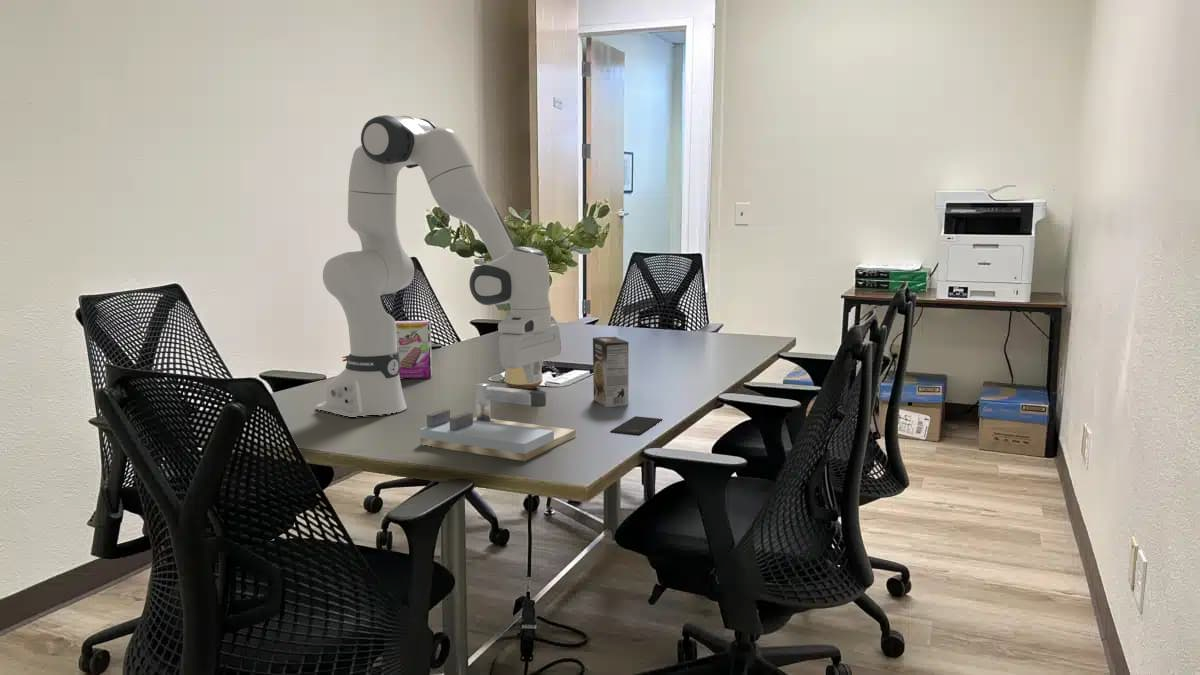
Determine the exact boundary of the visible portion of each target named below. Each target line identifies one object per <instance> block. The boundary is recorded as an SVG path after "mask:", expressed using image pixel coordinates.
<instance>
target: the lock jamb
mask: <svg viewBox="0 0 1200 675" xmlns="http://www.w3.org/2000/svg"><path fill="white" fill-rule="evenodd" d="M473 416H474V415H473V412H469V411H465V412H463V413H461V414H457V415H454V416H452V417H451V410H450V409H447V408H446V409H445V408H443V409H441V410H438V411H435V412H432V413H429V414H427V415H426V426H424V427H422V428H420V429H419V432H420V433H419V434H420V436H419V438H420V445H421V444H422V445H421V446H424V445H428V446H427V447H430V446H432V447H431V448H437V449H438V448H439V449H443V450H444V449H445V450H451V451H457V452H464V453H469V454H475V455H476V454H477V455H483V456H490V457H495V458H502V459H510V460H516V461H522V462H526V461H529V460H531V459H532V458H534V457H537V456H539V455H541V454H543V453H545V452H547V451H549V450H551V449H554V448H555V447H557V446H559V445H562V444H563V443H566V442H568V441H570V440H572V439H573V438H575V437H576V434H577V433H576V429H572V428H571V429H570V428H564V427H555V426H547V425H539V424H534V423H533V424H532V423H527V422H526V423H525V422H518V421H509V420H501V419H495V418H491V421H489V422H485V421H477V420H476V417H473Z"/></svg>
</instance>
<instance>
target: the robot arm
mask: <svg viewBox="0 0 1200 675" xmlns="http://www.w3.org/2000/svg"><path fill="white" fill-rule="evenodd" d="M360 142H361V143H360V144H361V145H359V146H358V147H357V148H356V149H355V150H354V152H353V156H352V159H351V164H350V169H349V176H348V187H347V188H348V189H347V190H348V191H347V192H348V195H347V198H348V199H347V222H348V225H349V227H350V228H351V229H352V230H353V231H354V232H356V234H357V235H358V238H359V241H360V243H361V250H359V251H347V252H344V253H341V254H338V255H335V256H334V257H331V258H329V259H328V261H326V263H325V265H324V266H323V269H322V280H323V284H324V287H325V289H326V290H327V291H328V293H329V294H330V295H331V296H333V297H334V298H335V299H336V300H337V301H338V302H339V304H340V306H341V308H342V309H343V313H344V315H345V318H346V321H347V325H348V326H347V327H348V334H349V336H348V337H349V348H350V353H349V354H348V355H345V356H342V357H341V358H342V360H341V361H342V362H346V364H345V369H344V370H342V371H341V372H340V373H339V374H338V375H337V376H336V377H334V378H333V379H332V380H331V381H330V382H329V383H328V384H327V386H326V390H325V400H324V401H322V402H320V403H317V404H316V406H315V409H316V408H319V409H323V410H327V411H330V412H335V413H339V414H343V415H347V416H361V415H379V416H383V415H382V414H387V415H392V414H391V413H393V414H396V412H397V413H400V412H403V411H404V410H406V409H407V407H408V406H407V404H406V400H405V397H404V396H405V395H404V392H403V388H402V382H401V379H400V375H399V367H400V356H399V352H398V351H397V334H396V322H395V321H396V320H395V318H394V316H392V315H391V314H389V313H388V312H387V311H386V309H385V308H384V305H383V302H382V298H381V295H388V294H394V293H396V292H399V291H401V290H403V289H405V288H407V287H408V286H410V285H411V283H412V282H413V280H414V278H415V277H414V275H415V266H414V263H413V260H412V258H411V257H410V256H409V255H408V254H407V252H406V251H405V250H404V248H403V245H402V244H401V241H400V237H399V234H398V226H397V195H398V193H397V191H398V190H397V189H398V188H397V187H398V176H399V173H400V171H401V170H402V169H403V168H404V167H406V168H408V169H414V168H416V167H420V168H421V170H422V172H423V175H424V177H425V180H426V182H427V185H428V188H429V190H430V193H431V195H432V197H433V199H434V201H435V202H436V204H437V205H438V207H439V208H440V210H442V211H443V212H444V213H446V214H447V215H449V216H451V217H453V218H455V219H459V220H460V221H463V222H464V223H466V224H467V225H469V226H471V227H472V228H473V229H474V230H475V231H476V232H477V233H478V235H479V236H480V238H481V240H482V242H483V244H484V246H485V247H486V249H487V252H488V255H489V256H490V258H491V259H492V260H491V261H488V262H486V263H483V264H481V265H478V266H477V267H476V268H474V269H473V271H472V272H471V274H470V277H469V289H470V292H471V293H470V294H471V295H472V297H473V298H474V299H475V301H477V302H478V303H479V304H481V305H484V306H492V307H493V306H498V305H505V304H509V306H510V313H508V314H507V316H506V317H505V318H503V319H502V320H501V321H500V322H498V324H497V329H498V333H500V336H499V341H498V345H499V346H498V348H499V349H498V350H499V361H500V365H501V367H502V368H503V369H512V370H515V369H520V368H522V370H523V372H524V374H525V376H526V377H525V378H526V380H525V381H526V383H528V384H533V383H535V382H539V381H540V379H541V376H540V375H541V374H540V373H541V371H542V368H543V364H544V363H543V362H544V361H545V360H547V359H551V358H553V357H554V358H555V357H557V356H560V355H561V351H562V339H561V333H560V332H561V331H560V329H559V326H558V325H557V320H556V319H555V318H554V317H553V316H552V315H551V303H550V300H549V292H550V287H551V286H550V285H551V284H550V272H549V270H550V269H549V264H548V262H549V261H548V259H547V256H546V254H545V252H544V251H542V250H540V249H538V248H535V247H529V246H516V244H515V242H514V240H513V239H512V236H511V234H510V232H509V231H508V230H509V229H508V228H507V227H506V224H505V222H504V221H503V219H502V217H501V214H500V213H499V211H498V209H497V207H496V205H495V204H494V203H493V201H492V200H491V198H490V196H489V194H488V193H487V192H486V190H485V188H484V186H483V184H482V181H481V179H480V177H479V175H478V173H477V170H476V167H475V166H474V164H473V161H472V158H471V157H470V154H469V153H468V150H467V149H466V148H465V146H464V144H463V142H462V141H461V139H460V137H459V136H458V134H457V133H456V132H455V131H454V130H452V129H451V128H448V127H438V126H437V125H436V124H435V123H434V122H432V121H430V120H428V119H425V118H419V117H413V116H410V115H408V116H407V115H400V116H399V115H398V116H397V115H387V114H386V115H384V114H383V115H378V116H375V117H373V118H371V119H369V120H368V121H367V122H366V123H365V124H364V125H363V128H362V130H361V133H360Z"/></svg>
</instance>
